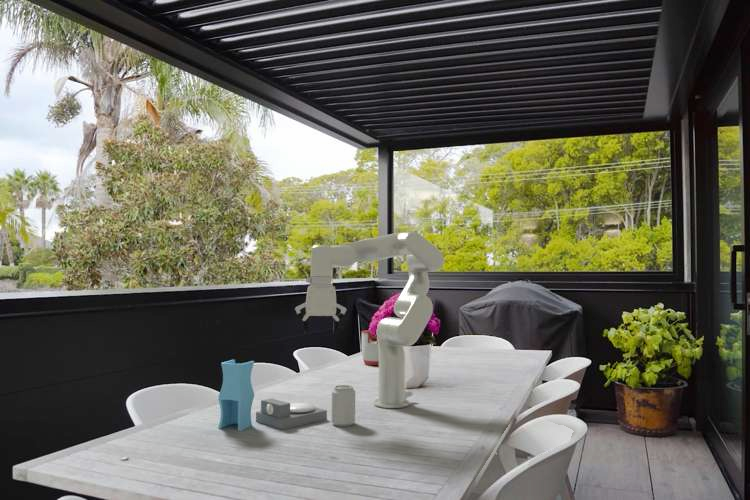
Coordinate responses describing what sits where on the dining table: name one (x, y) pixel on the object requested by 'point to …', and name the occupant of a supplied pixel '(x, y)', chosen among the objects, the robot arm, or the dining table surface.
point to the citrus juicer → (370, 348)
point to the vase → (236, 394)
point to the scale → (288, 414)
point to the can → (343, 405)
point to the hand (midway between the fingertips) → (320, 332)
